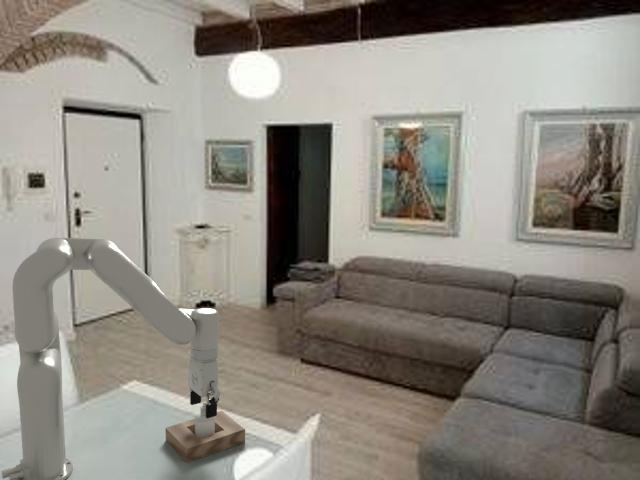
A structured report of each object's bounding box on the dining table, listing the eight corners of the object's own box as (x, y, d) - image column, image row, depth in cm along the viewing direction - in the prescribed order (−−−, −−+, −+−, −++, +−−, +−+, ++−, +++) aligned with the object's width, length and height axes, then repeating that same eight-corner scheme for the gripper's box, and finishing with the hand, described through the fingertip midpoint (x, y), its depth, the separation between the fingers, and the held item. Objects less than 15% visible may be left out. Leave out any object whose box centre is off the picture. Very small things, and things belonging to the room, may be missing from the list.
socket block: (186, 462, 141) (186, 449, 140) (165, 440, 151) (165, 427, 151) (245, 442, 152) (245, 429, 151) (221, 422, 163) (221, 410, 162)
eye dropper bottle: (211, 446, 149) (211, 406, 147) (192, 444, 150) (192, 404, 148) (217, 438, 153) (216, 400, 151) (198, 436, 154) (198, 398, 152)
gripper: (178, 346, 152) (178, 402, 154) (206, 365, 139) (205, 426, 141) (202, 341, 157) (201, 396, 159) (231, 359, 143) (229, 418, 146)
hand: (203, 410), depth 150 cm, fingers open, 9 cm apart
